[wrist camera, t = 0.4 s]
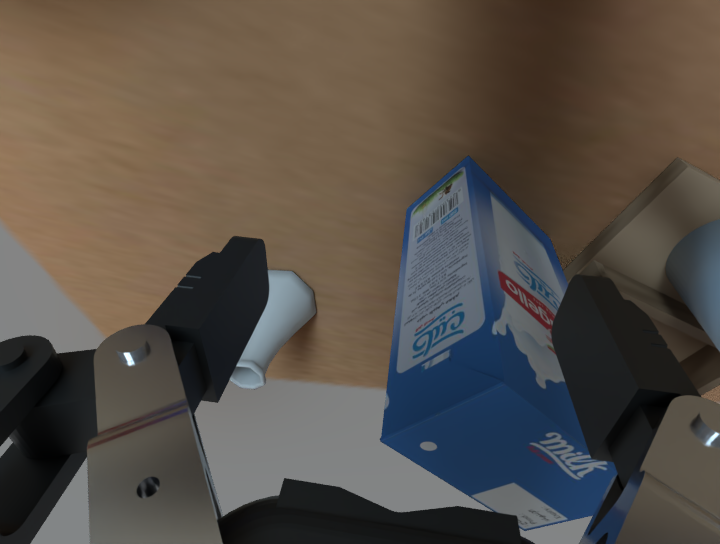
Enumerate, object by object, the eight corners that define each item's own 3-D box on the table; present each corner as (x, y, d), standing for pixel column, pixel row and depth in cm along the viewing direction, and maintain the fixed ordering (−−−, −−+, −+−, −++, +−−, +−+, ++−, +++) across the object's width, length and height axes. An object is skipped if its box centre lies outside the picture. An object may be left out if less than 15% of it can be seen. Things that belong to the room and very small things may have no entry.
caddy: (677, 157, 28) (712, 187, 24) (843, 247, 30) (897, 287, 26) (504, 328, 39) (511, 365, 36) (632, 384, 41) (651, 425, 38)
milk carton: (550, 239, 33) (655, 502, 17) (486, 280, 36) (525, 532, 20) (467, 154, 30) (503, 383, 14) (405, 208, 33) (379, 441, 17)
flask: (328, 315, 42) (303, 400, 34) (267, 326, 44) (231, 408, 36) (297, 259, 38) (261, 340, 30) (232, 275, 40) (183, 353, 32)
